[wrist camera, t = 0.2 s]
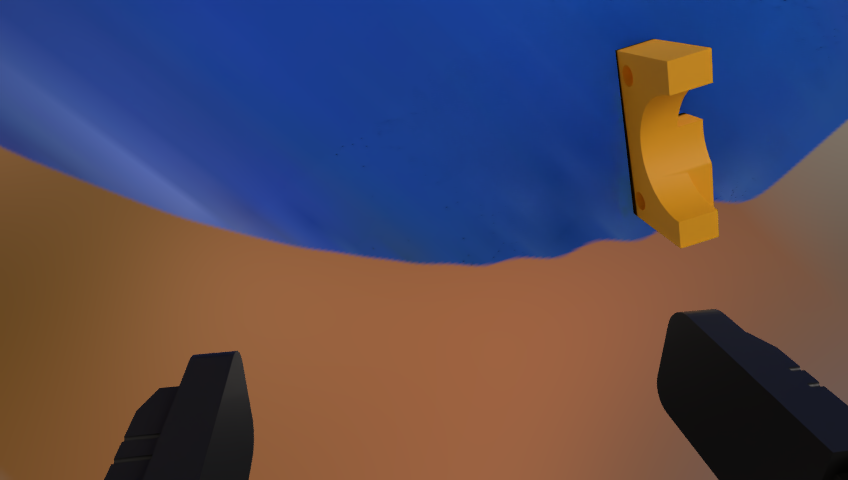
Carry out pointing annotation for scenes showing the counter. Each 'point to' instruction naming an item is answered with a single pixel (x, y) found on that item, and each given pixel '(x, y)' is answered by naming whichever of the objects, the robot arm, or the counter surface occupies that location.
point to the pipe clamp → (667, 139)
